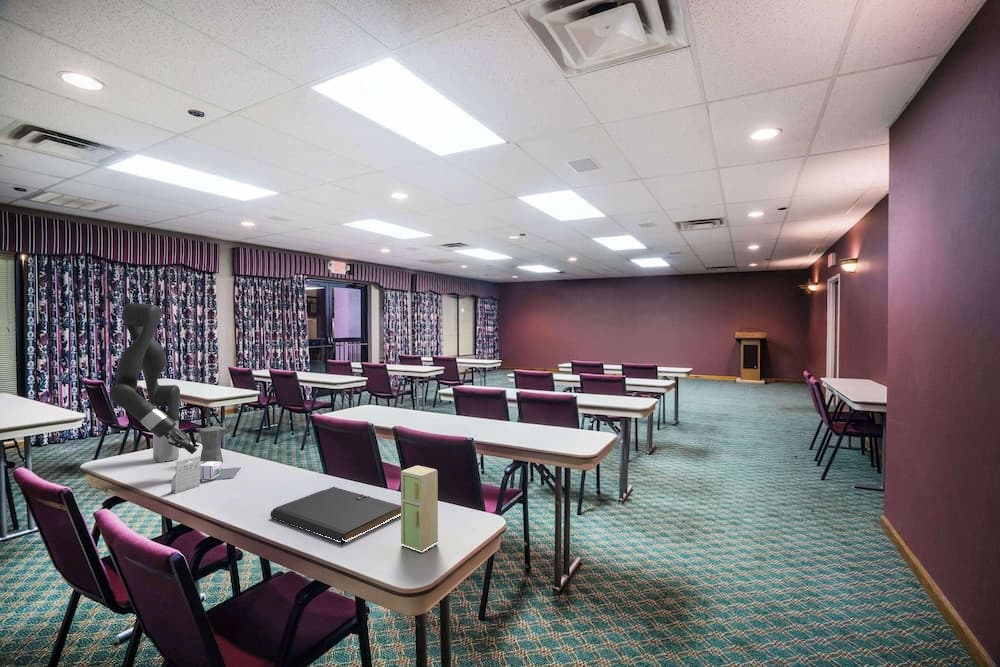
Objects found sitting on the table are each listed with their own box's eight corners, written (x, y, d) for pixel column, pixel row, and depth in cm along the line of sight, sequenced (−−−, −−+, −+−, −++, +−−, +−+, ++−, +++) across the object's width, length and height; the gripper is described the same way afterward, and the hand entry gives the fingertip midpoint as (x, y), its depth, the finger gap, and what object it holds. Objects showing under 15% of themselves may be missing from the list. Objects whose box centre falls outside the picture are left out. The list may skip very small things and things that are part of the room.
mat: (179, 482, 177) (179, 481, 177) (191, 472, 190) (191, 471, 190) (233, 478, 183) (233, 477, 183) (240, 468, 196) (240, 467, 196)
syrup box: (175, 479, 179) (212, 480, 179) (175, 464, 179) (212, 465, 179) (185, 474, 185) (221, 475, 185) (185, 460, 185) (221, 461, 185)
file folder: (402, 504, 148) (341, 533, 128) (402, 517, 149) (341, 548, 128) (333, 485, 166) (270, 508, 145) (334, 496, 166) (270, 521, 145)
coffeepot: (231, 459, 209) (231, 419, 209) (224, 465, 200) (224, 423, 200) (193, 461, 205) (193, 420, 205) (183, 467, 196) (184, 425, 196)
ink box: (170, 493, 166) (170, 461, 166) (195, 484, 175) (195, 454, 175) (175, 494, 165) (175, 462, 165) (200, 485, 174) (200, 455, 174)
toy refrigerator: (398, 547, 127) (398, 471, 127) (416, 537, 133) (417, 464, 133) (419, 555, 123) (420, 476, 122) (437, 545, 129) (438, 469, 128)
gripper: (160, 418, 175) (197, 448, 179) (172, 412, 187) (207, 440, 192) (143, 433, 173) (181, 463, 177) (156, 426, 186) (192, 454, 190)
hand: (194, 451), depth 184 cm, fingers closed
